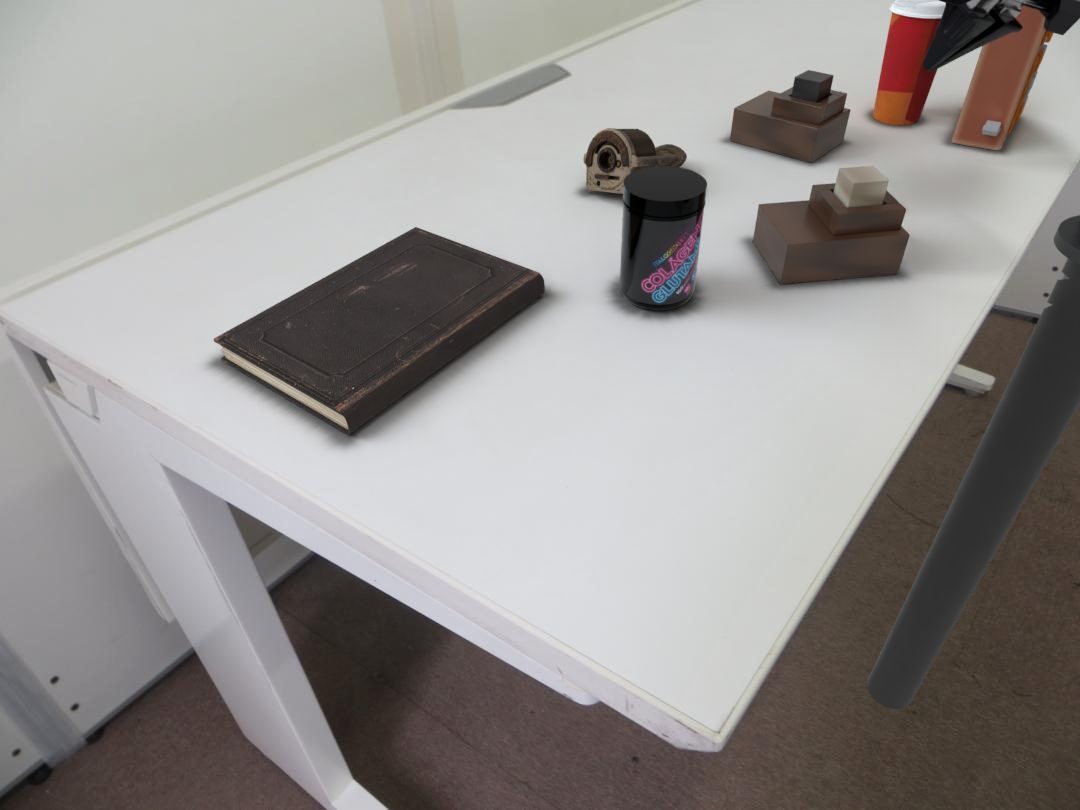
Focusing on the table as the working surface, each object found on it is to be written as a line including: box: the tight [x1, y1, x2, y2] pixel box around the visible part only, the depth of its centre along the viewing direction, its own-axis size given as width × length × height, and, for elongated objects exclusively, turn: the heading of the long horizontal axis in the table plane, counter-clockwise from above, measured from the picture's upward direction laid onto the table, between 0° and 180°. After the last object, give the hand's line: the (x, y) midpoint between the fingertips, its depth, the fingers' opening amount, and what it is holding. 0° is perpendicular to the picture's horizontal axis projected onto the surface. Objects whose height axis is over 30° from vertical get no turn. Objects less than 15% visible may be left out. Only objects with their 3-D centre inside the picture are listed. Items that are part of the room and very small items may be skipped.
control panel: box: [951, 6, 1054, 152], centre depth 87 cm, size 21×7×15 cm
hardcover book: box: [213, 226, 546, 435], centre depth 64 cm, size 16×23×2 cm
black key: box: [791, 69, 834, 103], centre depth 88 cm, size 3×3×2 cm
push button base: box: [729, 86, 851, 164], centre depth 91 cm, size 11×8×6 cm
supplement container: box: [619, 166, 708, 312], centre depth 65 cm, size 7×7×10 cm
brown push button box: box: [752, 182, 911, 285], centre depth 70 cm, size 11×8×6 cm
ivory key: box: [834, 165, 890, 208], centre depth 67 cm, size 3×3×2 cm
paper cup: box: [872, 0, 946, 126], centre depth 93 cm, size 8×8×14 cm
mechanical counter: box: [582, 127, 688, 195], centre depth 83 cm, size 7×13×10 cm
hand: (926, 68), depth 75 cm, fingers closed
